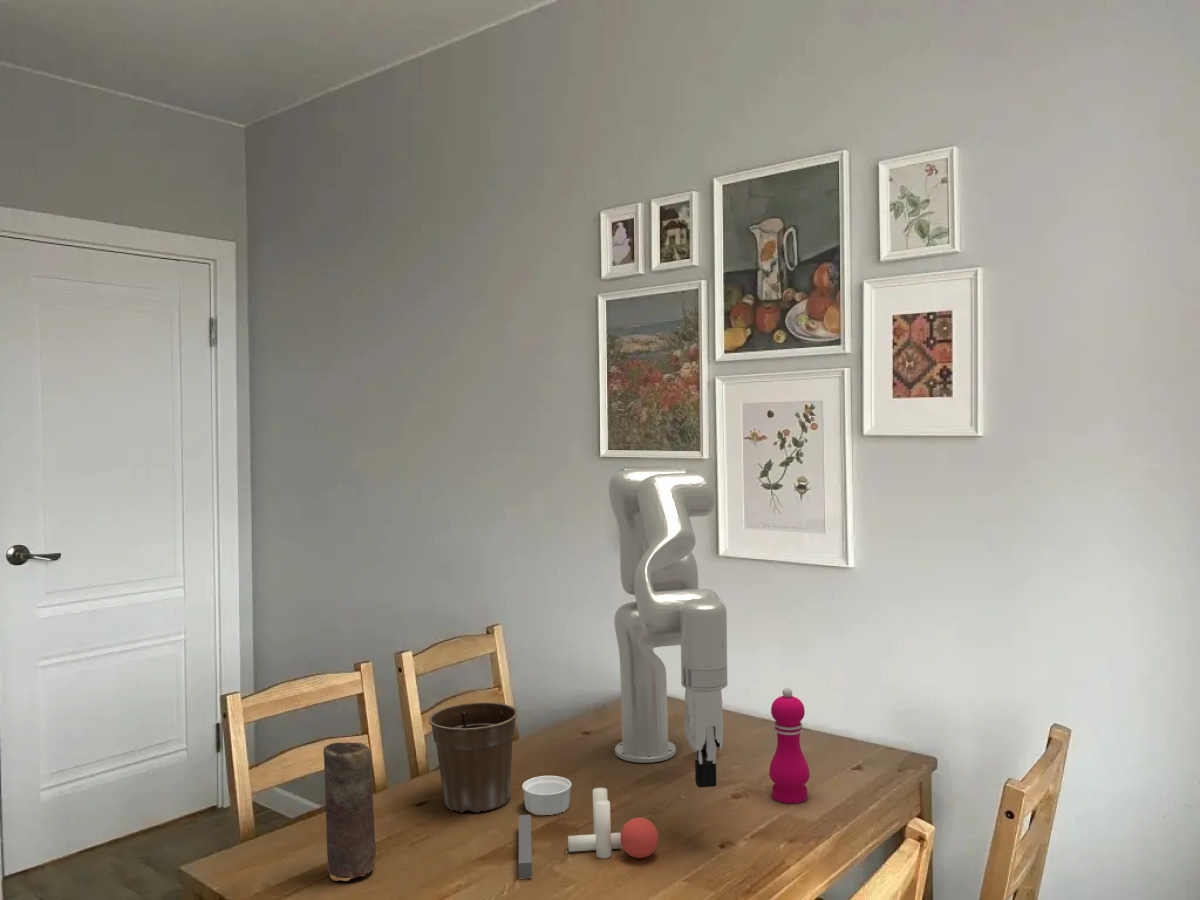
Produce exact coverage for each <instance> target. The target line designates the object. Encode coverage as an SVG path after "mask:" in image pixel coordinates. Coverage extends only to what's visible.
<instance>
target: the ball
mask: <svg viewBox="0 0 1200 900" xmlns="http://www.w3.org/2000/svg"><path fill="white" fill-rule="evenodd" d="M620 833H621V837H620V838H621V844H622V847H621V848H623V850H624V852H626V853H627V854H628V855H629V856H631V857H632V858H636V859H644V858H647V857H648V856H650V855H652V854H653V853H654V851H655V850H656V849H657V846H658V843H659V834H658V833H659V832H658V830H657V828H656V826H655V825H654V824H653V822H651V820H649V819H647V818H644V817H635V818H631V819H629V820H628V821H627V822H626V823H624V825H623V827H622V829H621V831H620Z"/></svg>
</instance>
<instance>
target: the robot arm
mask: <svg viewBox="0 0 1200 900" xmlns="http://www.w3.org/2000/svg"><path fill="white" fill-rule="evenodd" d="M608 493H609V494H608V495H609V501H610V505H611V508H612V511H613V514H614V517H615V519H616V522H617V526H618V530H619V566H620V567H619V568H620V570H619V571H620V572H619V573H620V582H621V585H622V588H623V590H624V592H625V593H627V594H628V595H632V596H634V597H635V598H634V599H635V601H631V602H626V603H625V604H622V605H621V606H620V607H618V608H617V610H616V612H615V614H614V630H615V636H616V641H617V647H618V657H619V669H620V670H619V671H620V696H621V697H620V703H621V705H620V706H621V707H620V708H621V736H622V739H621V740H622V741H621V742H619V743H618V744H616V745H615V748H614V754H615V755H616V757H618V759H619V758H620V759H621V760H623V761H626V762H629V763H630V762H632V763H640V764H641V763H642V764H644V763H645V764H649V763H659V762H663V761H667V760H669V759H671V758H672V757H674V756H675V755H676V753H677V750H676V749H677V747H676V745H675V744H674V743H673V742H671V741H669V731H668V729H669V725H668V723H669V722H668V721H669V720H668V690H667V689H668V688H667V687H668V686H667V668H666V665H665V664H664V662H663V660H662V659H661V658H660V657H659V656H658V655H657V654H656V653H655V651H654V649H655V648H661V647H672V646H680V673H681V674H680V675H681V676H680V679H681V687H683V688H685V689H684V690H685V694H684V721H683V722H684V726H683V728H684V734H685V735H684V736H685V737H686V741H687V742H688V744H689V746H690V747H691V750H693V751H694V752H695V753H694V754H695V759H694V771H695V772H694V776H695V778H694V780H695V784H696V786H697V787H698V788H711V787H713V788H714V787H716V786H717V750H718V751H721V750H722V748H723V747H724V714H723V696H722V695H723V693H722V690H723V689H725V688H727V687H728V684H729V683H728V634H727V633H728V627H727V626H728V624H727V623H728V616H727V608H726V606H725V605H726V604H724V603H723V601H722V599H721V598H720V596H719V595H718V594H717V592H716V591H714V590H712V589H710V588H709V589H708V588H699V570H698V565H697V561H696V558H695V555H694V554H693V552H692V551H693V550H694V548H695V546H696V540H697V539H696V536H695V532H694V529H693V525H692V522H691V518H693V517H707V516H709V515H710V514H712V512H713V510H714V508H715V505H716V504H715V503H716V494H715V488H714V486H713V483H712V482H711V480H710V478H709V477H708V476H707V475H706V474H705V473H704V472H702V471H700V470H697V469H694V468H691V467H660V468H658V467H657V468H653V467H651V468H648V467H647V468H633V469H626V470H621V471H618V472H616V473H614V474H613V475H612V476H611V478H610V479H609V484H608Z"/></svg>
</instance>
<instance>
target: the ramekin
mask: <svg viewBox="0 0 1200 900" xmlns="http://www.w3.org/2000/svg"><path fill="white" fill-rule="evenodd" d="M521 788H522V792H523V799H524V800H523V801H524V808H525V809H526V811H527V810H528V811H529V812H531V813H534V814H538V815H537V816H539V815H551V816H554V815H553V814H557V815H559V814H558V813H560V814H562V813H561V812H563V813H565V812H566V811H567V810H569V807H570V801H571V799H570V798H571V789H572V782H571V780H569V779H568V778H566V777H563V776H557V775H541V776H535V777H532V778H528V779H527V780H525V781H524V782H523V783H522V785H521ZM565 810H566V811H565ZM528 811H527V812H528ZM531 813H530V814H531ZM534 814H533V815H534Z"/></svg>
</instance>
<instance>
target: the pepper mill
mask: <svg viewBox="0 0 1200 900" xmlns="http://www.w3.org/2000/svg"><path fill="white" fill-rule="evenodd" d="M770 713H771V716H772V718H773V720H775V722H774V724H773V726H774V728H773V731H774V732H775V733H776V737H777V745H776V749H775V752H774V754H773V757H772V758H771V761H770V764H769V772H768V775H769V778H770V780H771V781H772V782H773V785H772V787H771V790H772V794H771V796H772V798H773V799H774V800H776V801H778V802H780V803H783V802H784V804H799V803H802V802H803V803H804V801H806V800H807V799H808V787H807V785H806V784H807V783H808V781H809V779H810V776H811V775H810V768H809V764H808V762H807V760H806V758H805V756H804V753H803V750H802V747H801V742H800V737H801V736H800V735H801V733H802V732H803V728H802V727H803V723H802V720H803V719H804V717H805V715H806V713H805V706H804V703H803V702H802V701H801V700H800V699H799V698H798V697H796V696H793V690H792V689H791V688H790V687H785V688H784V689H783V690H782V695H781V696H778V697H776V698H775V699H774V700H773V702H772V704H771V707H770Z"/></svg>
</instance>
